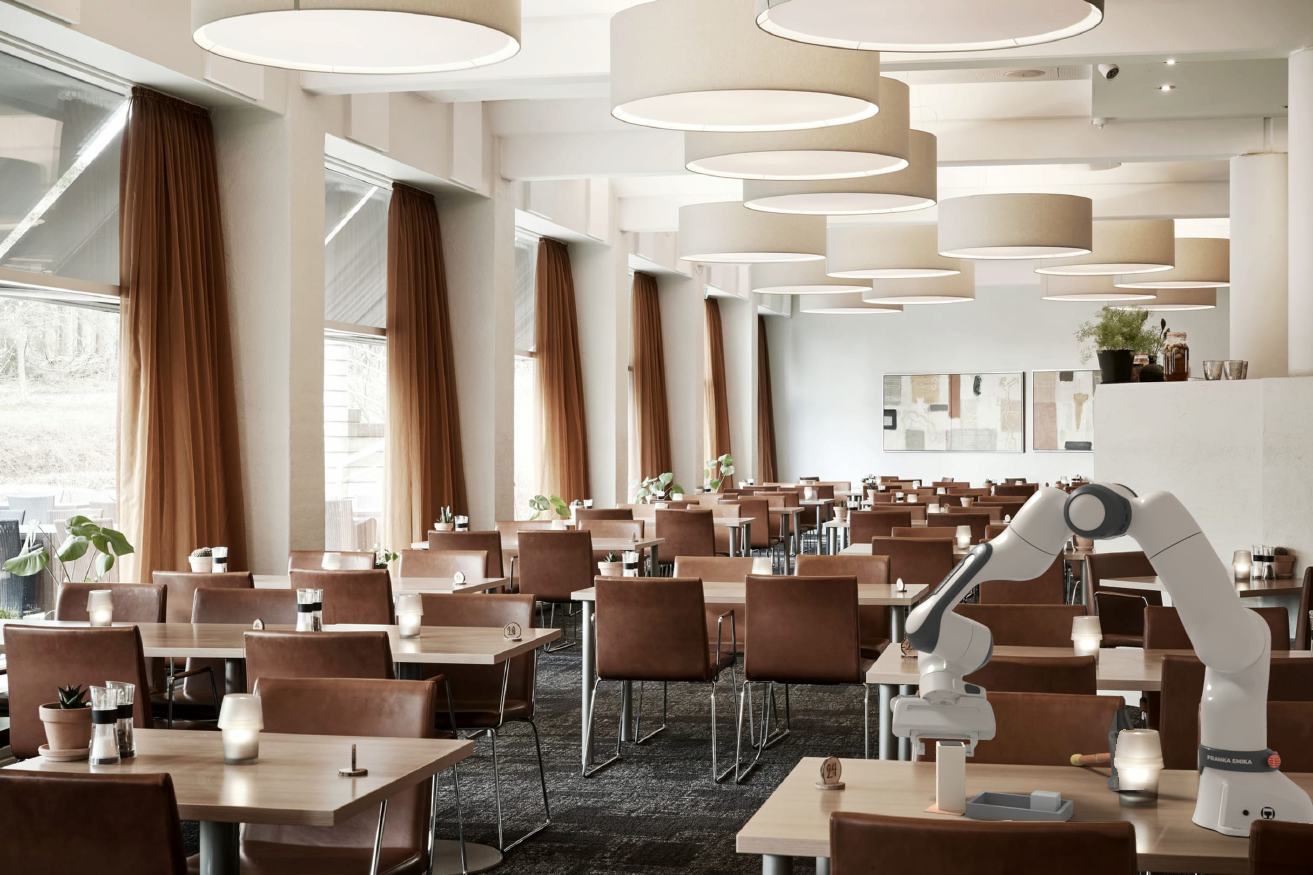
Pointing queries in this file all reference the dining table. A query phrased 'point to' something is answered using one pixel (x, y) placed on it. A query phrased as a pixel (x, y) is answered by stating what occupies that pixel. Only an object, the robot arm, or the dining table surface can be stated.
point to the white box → (950, 775)
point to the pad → (934, 809)
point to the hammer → (1118, 724)
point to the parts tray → (1013, 808)
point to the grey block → (1045, 801)
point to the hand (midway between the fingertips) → (945, 753)
